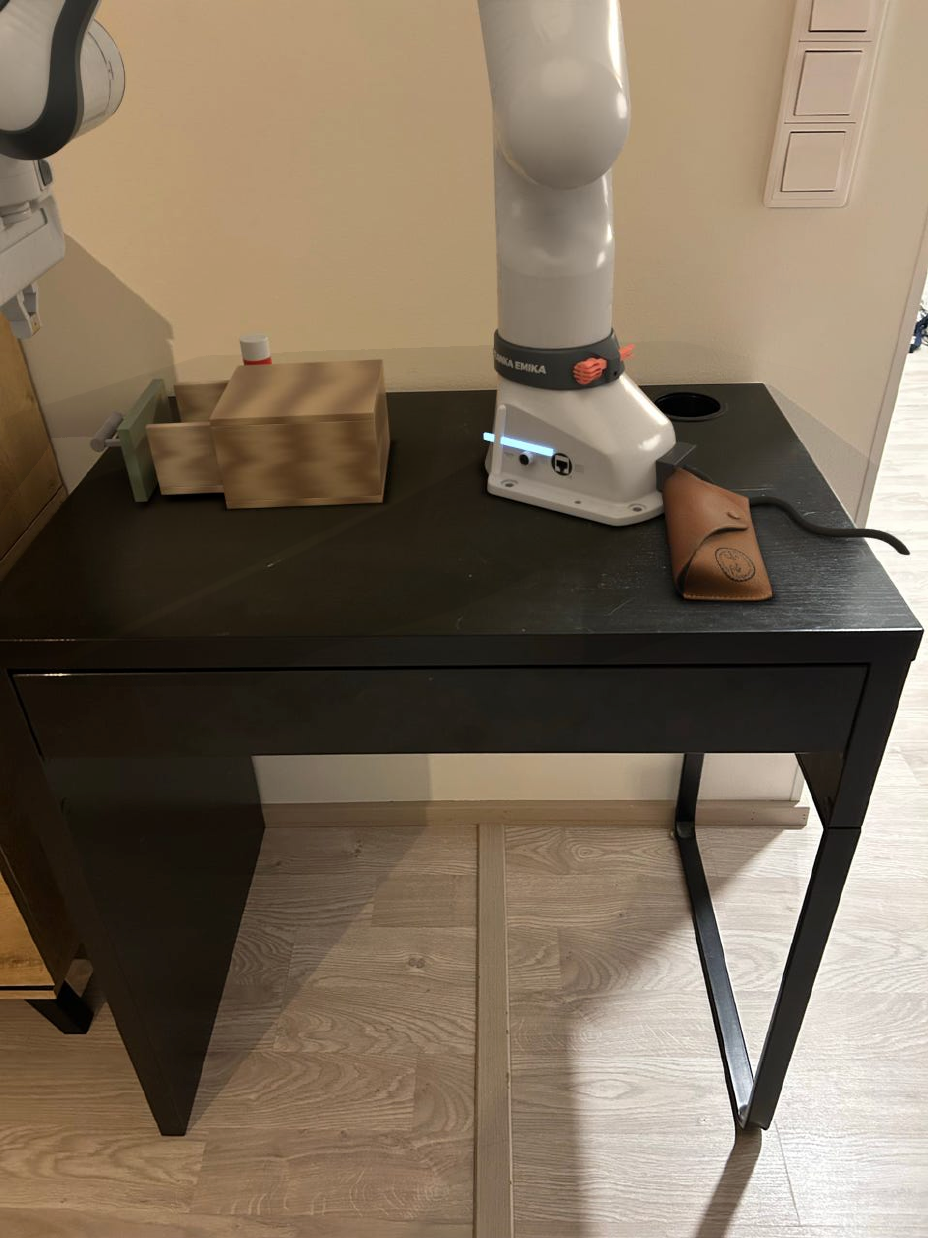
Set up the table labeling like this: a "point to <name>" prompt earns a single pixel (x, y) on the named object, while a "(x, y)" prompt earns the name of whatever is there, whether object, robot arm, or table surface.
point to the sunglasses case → (712, 542)
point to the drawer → (167, 440)
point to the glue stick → (255, 349)
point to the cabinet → (303, 434)
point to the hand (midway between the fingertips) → (28, 333)
